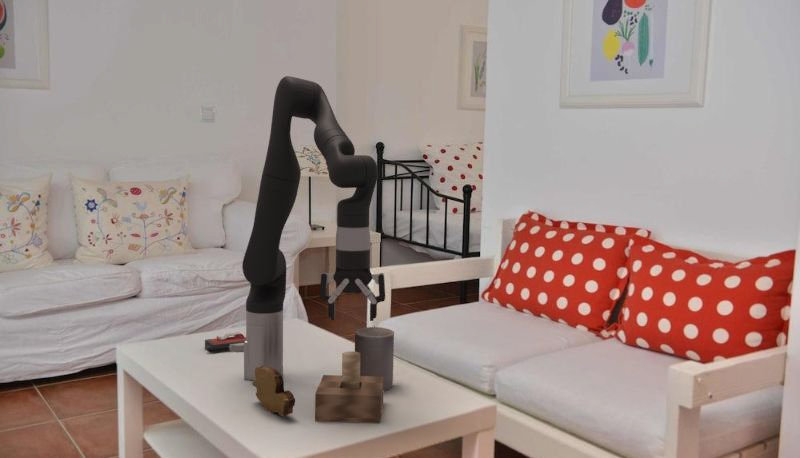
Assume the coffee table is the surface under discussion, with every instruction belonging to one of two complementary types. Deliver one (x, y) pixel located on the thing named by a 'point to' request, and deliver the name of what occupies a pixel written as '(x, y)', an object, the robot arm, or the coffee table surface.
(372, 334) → the pillar candle
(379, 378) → the socket block
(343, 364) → the peg
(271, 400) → the wooden carving
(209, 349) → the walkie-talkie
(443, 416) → the coffee table surface
